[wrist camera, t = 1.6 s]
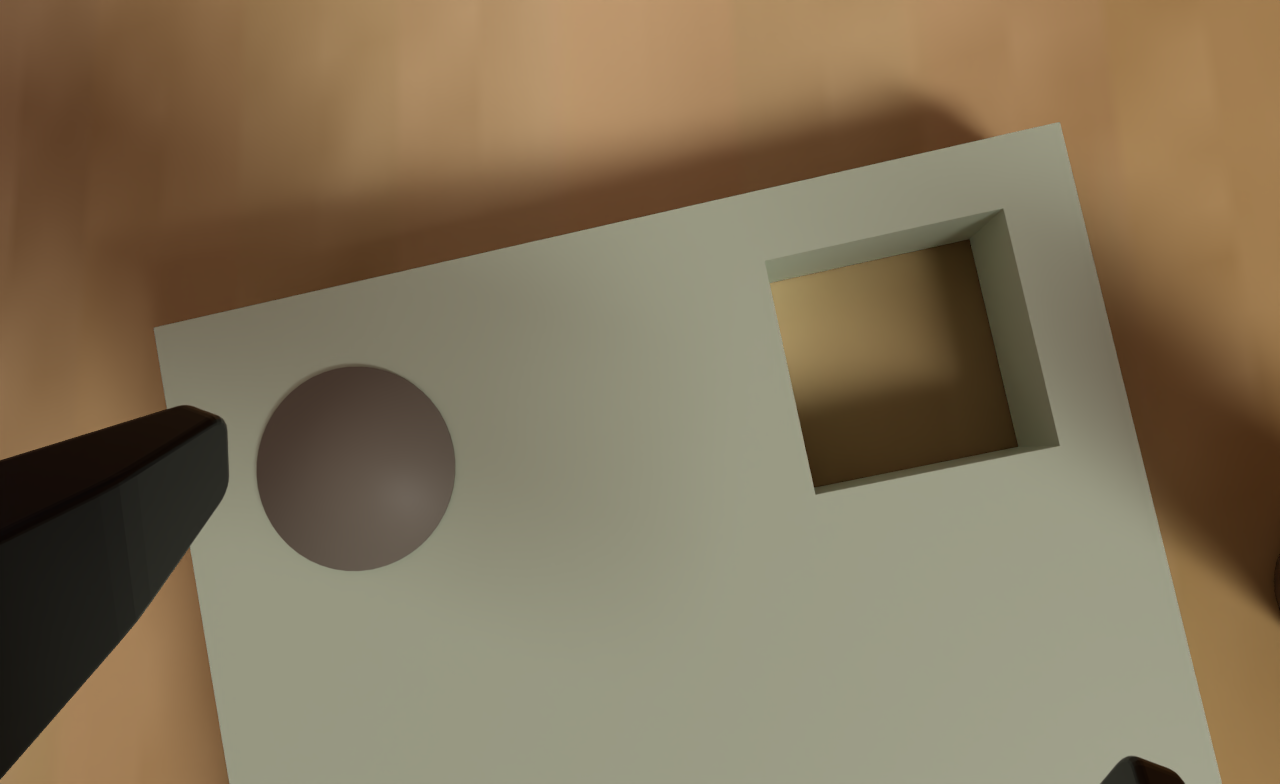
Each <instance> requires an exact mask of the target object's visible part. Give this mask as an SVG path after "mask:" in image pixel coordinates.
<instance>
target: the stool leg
mask: <svg viewBox="0 0 1280 784" xmlns="http://www.w3.org/2000/svg"><path fill="white" fill-rule="evenodd" d="M1274 583H1275V594H1276V599H1277V603H1278V606H1279V609H1280V555H1279V557H1278V560H1277V564H1276V569H1275V578H1274Z"/></svg>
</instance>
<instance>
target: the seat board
mask: <svg viewBox="0 0 1280 784" xmlns="http://www.w3.org/2000/svg"><path fill="white" fill-rule="evenodd" d="M968 239H970V244H971V248H972V252H973V256H974V261H975V265H976V269H977V273H978V278H979V282H980V286H981V290H982V295H983V299H984V303H985V307H986V312H987V316H988V320H989V324H990V329H991V333H992V337H993V341H994V346H995V350H996V354H997V358H998V363H999V367H1000V371H1001V375H1002V380H1003V384H1004V388H1005V392H1006V397H1007V401H1008V405H1009V409H1010V414H1011V418H1012V422H1013V426H1014V431H1015V435H1016V439H1017V443H1018V447H1014V448H1009V449H1004V450H999V451H994V452H989V453H984V454H979V455H974V456H970V457H965V458H960V459H955V460H950V461H945V462H940V463H935V464H930V465H925V466H920V467H915V468H910V469H905V470H900V471H895V472H890V473H885V474H880V475H875V476H870V477H865V478H860V479H855V480H850V481H845V482H840V483H835V484H830V485H825V486H820V487H815V488H814V486H813V481H812V476H811V472H810V467H809V463H808V458H807V453H806V449H805V444H804V440H803V435H802V431H801V426H800V421H799V417H798V412H797V408H796V403H795V398H794V394H793V389H792V385H791V380H790V375H789V371H788V366H787V362H786V357H785V352H784V348H783V343H782V339H781V334H780V329H779V325H778V320H777V316H776V311H775V307H774V302H773V297H772V293H771V288H770V284H769V283H772V282H776V281H781V280H785V279H790V278H794V277H799V276H804V275H808V274H813V273H817V272H822V271H826V270H831V269H836V268H840V267H845V266H849V265H854V264H858V263H863V262H868V261H872V260H877V259H881V258H886V257H890V256H895V255H899V254H904V253H909V252H913V251H918V250H922V249H927V248H931V247H936V246H941V245H945V244H950V243H954V242H959V241H963V240H968ZM154 334H155V340H156V346H157V352H158V358H159V364H160V370H161V376H162V382H163V388H164V394H165V400H166V406H167V409H169V408H172V407H176V406H180V405H190V406H194V407H197V408H199V409H202V410H205V411H207V412H210V413H213V414H216V415H218V416H220V417H221V418H223V420H224V421H225V423H226V425H227V431H228V457H229V483H228V487H227V490H226V493H225V495H224V497H223V499H222V501H221V502H220V504H219V505H218V507H217V508H216V510H215V511H214V513H213V514H212V516H211V517H210V518H209V520H208V521H207V523H206V524H205V526H204V527H203V528H202V530H201V531H200V533H199V534H198V536H197V537H196V538H195V540H194V541H193V543H192V544H191V546H190V550H191V556H192V562H193V568H194V574H195V580H196V586H197V592H198V598H199V604H200V610H201V616H202V622H203V628H204V634H205V640H206V646H207V652H208V658H209V664H210V670H211V676H212V682H213V688H214V694H215V700H216V706H217V712H218V718H219V724H220V730H221V736H222V742H223V748H224V754H225V760H226V766H227V772H228V778H229V784H1100V783H1101V782H1102V781H1103V779H1104V778H1105V777H1106V776H1107V775H1108V774H1109V772H1110V771H1111V770H1112V769H1113V768H1114V766H1115V765H1116V764H1117V763H1118V762H1119V761H1120V760H1121V759H1122V758H1125V757H1127V756H1137V757H1140V758H1143V759H1145V760H1148V761H1151V762H1153V763H1156V764H1159V765H1161V766H1164V767H1167V768H1169V769H1171V770H1173V771H1174V772H1176V773H1177V774H1178V775H1179V776H1180V777H1181V779H1182V780H1183V781H1184V783H1185V784H1222V782H1221V778H1220V774H1219V770H1218V766H1217V762H1216V758H1215V754H1214V749H1213V745H1212V741H1211V737H1210V733H1209V729H1208V725H1207V721H1206V717H1205V713H1204V709H1203V705H1202V700H1201V696H1200V692H1199V688H1198V684H1197V680H1196V676H1195V672H1194V668H1193V664H1192V660H1191V656H1190V651H1189V647H1188V643H1187V639H1186V635H1185V631H1184V627H1183V623H1182V619H1181V615H1180V611H1179V607H1178V602H1177V598H1176V594H1175V590H1174V586H1173V582H1172V578H1171V574H1170V570H1169V566H1168V562H1167V558H1166V554H1165V549H1164V545H1163V541H1162V537H1161V533H1160V529H1159V525H1158V521H1157V517H1156V513H1155V509H1154V505H1153V500H1152V496H1151V492H1150V488H1149V484H1148V480H1147V476H1146V472H1145V468H1144V464H1143V460H1142V456H1141V451H1140V447H1139V443H1138V439H1137V435H1136V431H1135V427H1134V423H1133V419H1132V415H1131V411H1130V407H1129V402H1128V398H1127V394H1126V390H1125V386H1124V382H1123V378H1122V374H1121V370H1120V366H1119V362H1118V358H1117V353H1116V349H1115V345H1114V341H1113V337H1112V333H1111V329H1110V325H1109V321H1108V317H1107V313H1106V309H1105V305H1104V300H1103V296H1102V292H1101V288H1100V284H1099V280H1098V276H1097V272H1096V268H1095V264H1094V260H1093V256H1092V251H1091V247H1090V243H1089V239H1088V235H1087V231H1086V227H1085V223H1084V219H1083V215H1082V211H1081V207H1080V202H1079V198H1078V194H1077V190H1076V186H1075V182H1074V178H1073V174H1072V170H1071V166H1070V162H1069V158H1068V153H1067V149H1066V145H1065V141H1064V137H1063V133H1062V129H1061V125H1060V122H1058V123H1053V124H1049V125H1044V126H1040V127H1035V128H1031V129H1027V130H1022V131H1018V132H1013V133H1009V134H1005V135H1000V136H996V137H991V138H987V139H983V140H978V141H974V142H969V143H965V144H961V145H956V146H952V147H947V148H943V149H939V150H934V151H930V152H925V153H921V154H917V155H912V156H908V157H903V158H899V159H895V160H890V161H886V162H881V163H877V164H873V165H868V166H864V167H859V168H855V169H850V170H846V171H842V172H837V173H833V174H828V175H824V176H820V177H815V178H811V179H806V180H802V181H798V182H793V183H789V184H784V185H780V186H776V187H771V188H767V189H762V190H758V191H754V192H749V193H745V194H740V195H736V196H732V197H727V198H723V199H718V200H714V201H710V202H705V203H701V204H696V205H692V206H687V207H683V208H679V209H674V210H670V211H665V212H661V213H657V214H652V215H648V216H643V217H639V218H635V219H630V220H626V221H621V222H617V223H613V224H608V225H604V226H599V227H595V228H591V229H586V230H582V231H577V232H573V233H569V234H564V235H560V236H555V237H551V238H547V239H542V240H538V241H533V242H529V243H524V244H520V245H516V246H511V247H507V248H502V249H498V250H494V251H489V252H485V253H480V254H476V255H472V256H467V257H463V258H458V259H454V260H450V261H445V262H441V263H436V264H432V265H428V266H423V267H419V268H414V269H410V270H406V271H401V272H397V273H392V274H388V275H384V276H379V277H375V278H370V279H366V280H362V281H357V282H353V283H348V284H344V285H339V286H335V287H331V288H326V289H322V290H317V291H313V292H309V293H304V294H300V295H295V296H291V297H287V298H282V299H278V300H273V301H269V302H265V303H260V304H256V305H251V306H247V307H243V308H238V309H234V310H229V311H225V312H221V313H216V314H212V315H207V316H203V317H199V318H194V319H190V320H185V321H181V322H176V323H172V324H168V325H163V326H159V327H154Z"/></svg>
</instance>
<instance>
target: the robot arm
mask: <svg viewBox="0 0 1280 784" xmlns="http://www.w3.org/2000/svg"><path fill="white" fill-rule="evenodd" d="M228 483H229V457H228V431H227V425H226V423H225V421H224V420H223V418H221V417H220V416H218V415H216V414H213V413H210V412H207V411H205V410H202V409H199V408H197V407H194V406H190V405H180V406H176V407H172V408H169V409H166V410H163V411H159V412H156V413H153V414H150V415H146V416H143V417H140V418H137V419H133V420H130V421H127V422H124V423H120V424H117V425H114V426H111V427H107V428H104V429H101V430H98V431H94V432H91V433H88V434H85V435H81V436H78V437H75V438H72V439H68V440H65V441H62V442H58V443H55V444H52V445H49V446H45V447H42V448H39V449H36V450H32V451H29V452H26V453H23V454H19V455H16V456H13V457H10V458H6V459H3V460H0V779H1V778H2V777H3V776H4V775H5V774H6V772H7V771H8V770H9V769H10V768H11V767H12V766H13V764H14V763H15V762H16V761H17V760H18V759H19V757H20V756H21V755H22V754H23V753H24V752H25V751H26V749H27V748H28V747H29V746H30V745H31V744H32V743H33V741H34V740H35V739H36V738H37V737H38V736H39V734H40V733H41V732H42V731H43V730H44V729H45V728H46V726H47V725H48V724H49V723H50V722H51V721H52V720H53V718H54V717H55V716H56V715H57V714H58V713H59V711H60V710H61V709H62V708H63V707H64V706H65V705H66V703H67V702H68V701H69V700H70V699H71V698H72V696H73V695H74V694H75V693H76V692H77V691H78V690H79V688H80V687H81V686H82V685H83V684H84V683H85V682H86V680H87V679H88V678H89V677H90V676H91V675H92V673H93V672H94V671H95V670H96V669H97V668H98V667H99V665H100V664H101V663H102V662H103V661H104V660H105V659H106V657H107V656H108V655H109V654H110V653H111V652H112V650H113V649H114V648H115V647H116V646H117V645H118V644H119V642H120V641H121V640H122V639H123V638H124V636H125V635H126V634H127V633H128V632H129V630H130V629H131V628H132V627H133V626H134V624H135V623H136V622H137V621H138V619H139V618H140V617H141V615H142V614H143V613H144V611H145V610H146V608H147V607H148V606H149V604H150V603H151V602H152V600H153V599H154V597H155V596H156V595H157V593H158V592H159V590H160V589H161V587H162V586H163V584H164V583H165V582H166V580H167V579H168V577H169V576H170V574H171V573H172V572H173V570H174V569H175V567H176V566H177V564H178V563H179V561H180V560H181V559H182V557H183V556H184V554H185V553H186V551H187V550H188V549H189V547H190V546H191V544H192V543H193V541H194V540H195V538H196V537H197V536H198V534H199V533H200V531H201V530H202V528H203V527H204V526H205V524H206V523H207V521H208V520H209V518H210V517H211V516H212V514H213V513H214V511H215V510H216V508H217V507H218V505H219V504H220V502H221V501H222V499H223V497H224V495H225V493H226V490H227V487H228ZM1100 784H1185V783H1184V781H1183V780H1182V779H1181V777H1180V776H1179V775H1178V774H1177V773H1176V772H1174V771H1173V770H1171V769H1169V768H1167V767H1164V766H1161V765H1159V764H1156V763H1153V762H1151V761H1148V760H1145V759H1143V758H1140V757H1137V756H1127V757H1125V758H1122V759H1121V760H1120V761H1119V762H1118V763H1117V764H1116V765H1115V766H1114V768H1113V769H1112V770H1111V771H1110V772H1109V774H1108V775H1107V776H1106V777H1105V778H1104V779H1103V781H1102V782H1101V783H1100Z"/></svg>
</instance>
